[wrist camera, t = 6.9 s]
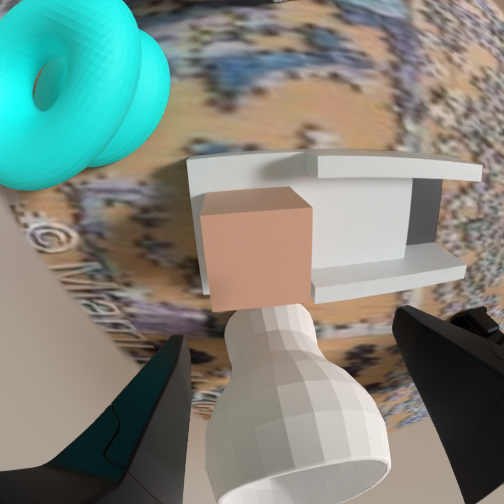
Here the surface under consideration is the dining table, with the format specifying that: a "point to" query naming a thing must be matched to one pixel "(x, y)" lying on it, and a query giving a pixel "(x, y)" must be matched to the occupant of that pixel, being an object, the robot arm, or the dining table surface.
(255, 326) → the cup
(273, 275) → the terracotta cube
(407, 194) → the grey channel
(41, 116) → the donuts
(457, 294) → the dining table surface
